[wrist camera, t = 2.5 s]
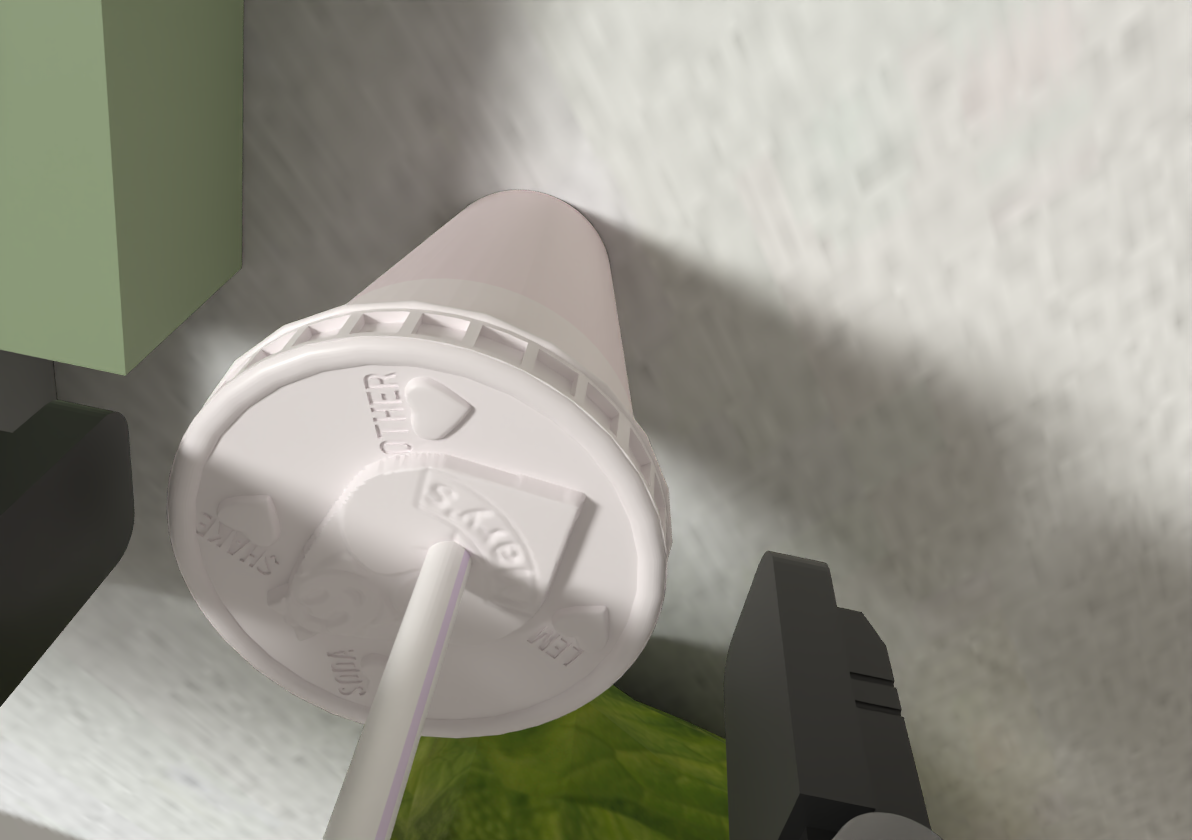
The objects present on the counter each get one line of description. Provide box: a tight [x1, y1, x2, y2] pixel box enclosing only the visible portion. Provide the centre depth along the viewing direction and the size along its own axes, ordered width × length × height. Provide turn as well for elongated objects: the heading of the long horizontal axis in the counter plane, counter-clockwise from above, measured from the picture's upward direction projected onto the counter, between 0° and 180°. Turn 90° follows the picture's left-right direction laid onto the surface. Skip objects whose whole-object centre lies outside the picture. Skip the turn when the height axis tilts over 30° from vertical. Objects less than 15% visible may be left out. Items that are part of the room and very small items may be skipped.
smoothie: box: [167, 190, 672, 840], centre depth 14 cm, size 6×6×14 cm
